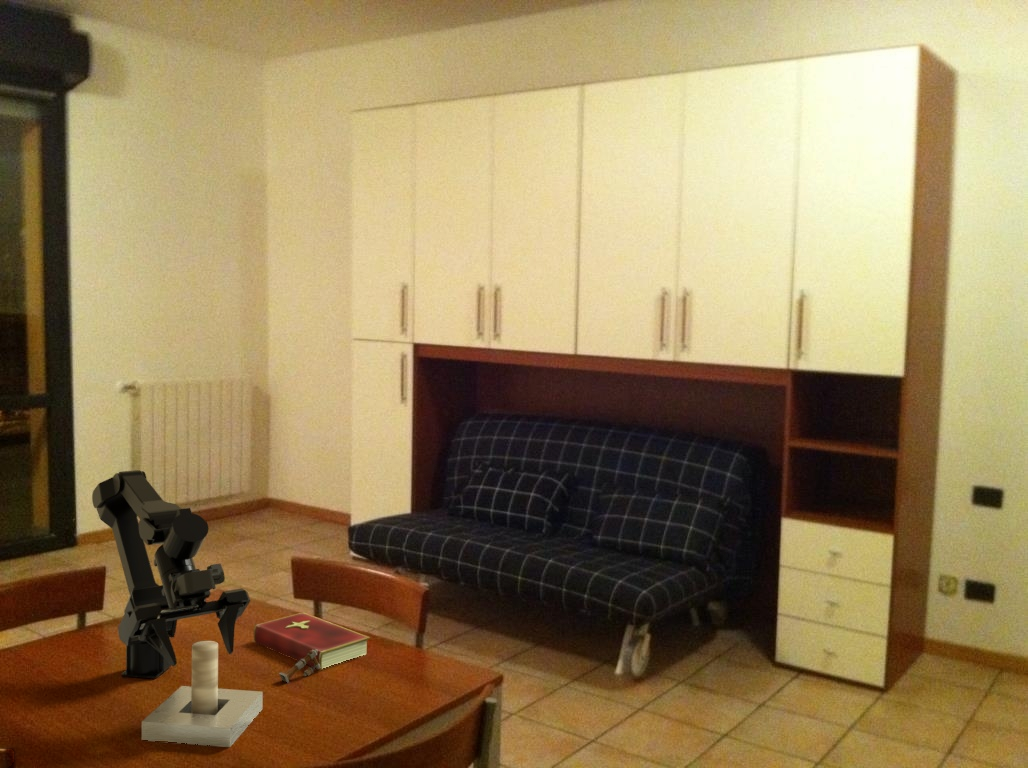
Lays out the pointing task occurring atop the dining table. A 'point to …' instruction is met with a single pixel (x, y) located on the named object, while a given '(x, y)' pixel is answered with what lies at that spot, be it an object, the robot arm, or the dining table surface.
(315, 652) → the wooden post with brackets
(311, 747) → the dining table surface
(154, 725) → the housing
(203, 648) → the ball
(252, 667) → the dining table surface
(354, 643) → the hardcover book
